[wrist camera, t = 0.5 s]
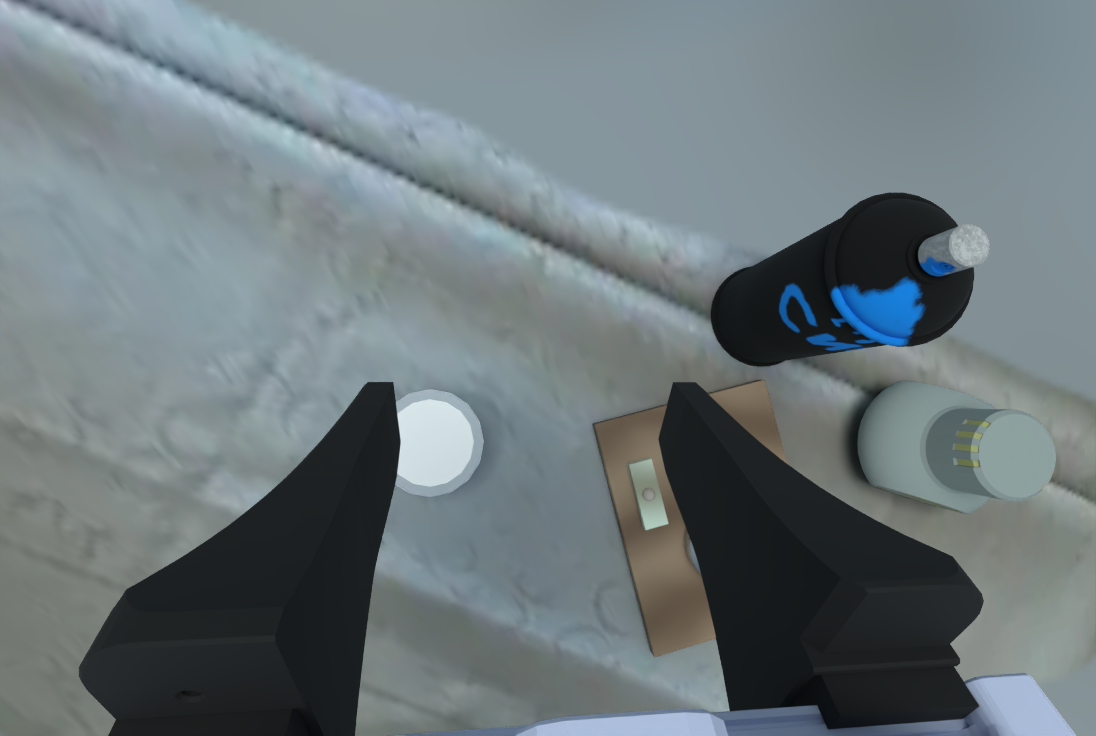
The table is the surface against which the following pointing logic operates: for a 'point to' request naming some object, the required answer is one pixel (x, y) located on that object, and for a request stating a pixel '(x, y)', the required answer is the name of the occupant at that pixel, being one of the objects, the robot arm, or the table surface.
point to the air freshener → (952, 448)
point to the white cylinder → (436, 443)
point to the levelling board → (668, 515)
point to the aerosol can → (853, 284)
